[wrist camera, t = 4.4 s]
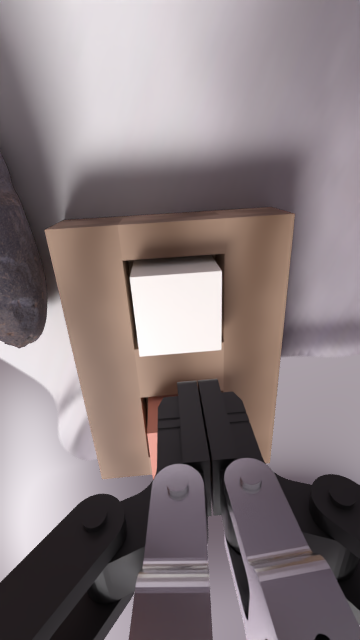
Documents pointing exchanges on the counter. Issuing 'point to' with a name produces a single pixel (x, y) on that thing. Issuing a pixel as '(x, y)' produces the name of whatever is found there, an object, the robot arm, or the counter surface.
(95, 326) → the frame
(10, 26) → the counter surface
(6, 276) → the perforated stone tool
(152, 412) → the salmon pink block
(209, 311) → the key white
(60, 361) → the counter surface
